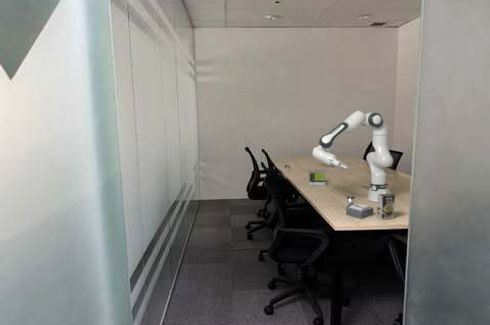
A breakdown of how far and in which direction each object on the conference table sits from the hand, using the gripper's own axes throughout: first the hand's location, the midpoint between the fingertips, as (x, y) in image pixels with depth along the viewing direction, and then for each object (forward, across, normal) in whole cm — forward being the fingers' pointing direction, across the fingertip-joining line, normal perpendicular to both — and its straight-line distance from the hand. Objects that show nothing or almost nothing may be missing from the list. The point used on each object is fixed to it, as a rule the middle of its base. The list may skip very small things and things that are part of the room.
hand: (347, 168), depth 249 cm
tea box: (-37, +74, +30) cm, 88 cm away
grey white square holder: (+24, -8, +25) cm, 36 cm away
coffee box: (+40, -7, +19) cm, 44 cm away
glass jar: (+15, +2, +26) cm, 31 cm away
